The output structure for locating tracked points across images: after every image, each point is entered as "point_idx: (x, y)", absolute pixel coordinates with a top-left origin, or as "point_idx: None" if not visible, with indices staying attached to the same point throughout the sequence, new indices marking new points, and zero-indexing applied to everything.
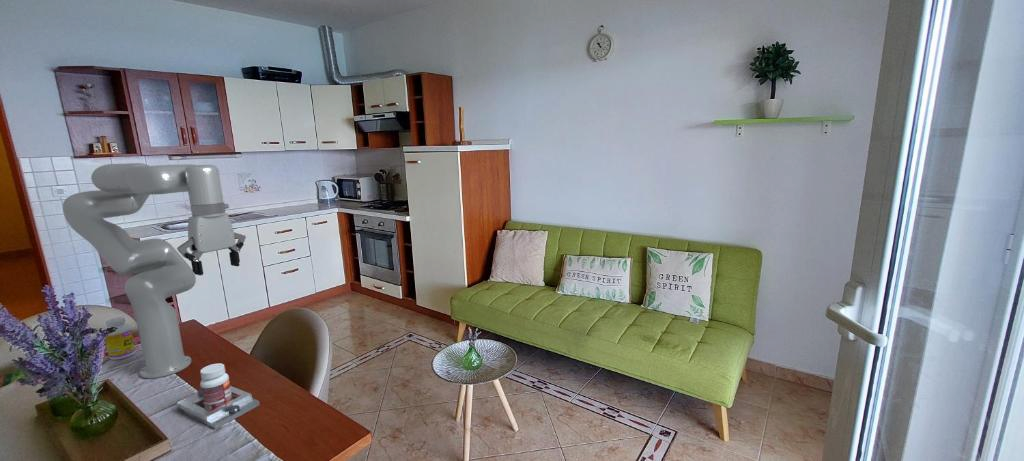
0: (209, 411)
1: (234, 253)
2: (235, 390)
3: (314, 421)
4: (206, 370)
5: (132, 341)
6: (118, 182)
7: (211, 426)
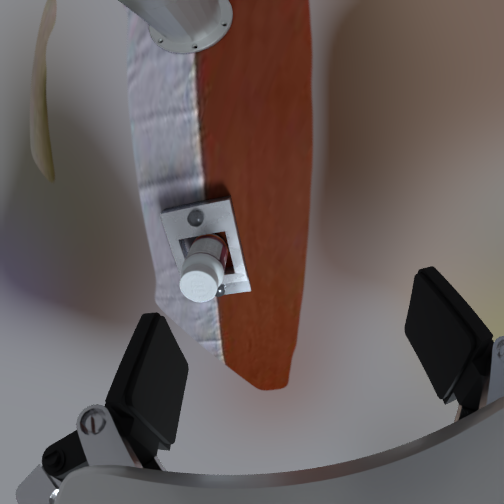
0: None
1: (448, 393)
2: (235, 250)
3: (274, 355)
4: (188, 286)
5: None
6: None
7: None
